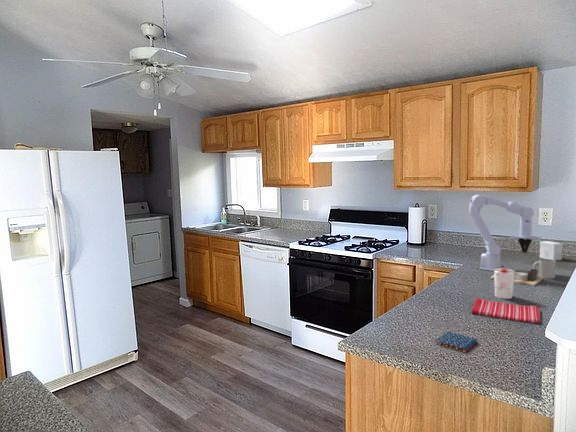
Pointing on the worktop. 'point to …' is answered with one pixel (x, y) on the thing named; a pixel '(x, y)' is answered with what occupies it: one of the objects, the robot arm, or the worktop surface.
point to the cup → (546, 268)
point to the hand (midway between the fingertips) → (524, 252)
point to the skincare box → (550, 250)
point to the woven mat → (456, 341)
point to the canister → (503, 282)
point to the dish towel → (507, 311)
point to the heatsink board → (532, 283)
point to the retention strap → (517, 270)
